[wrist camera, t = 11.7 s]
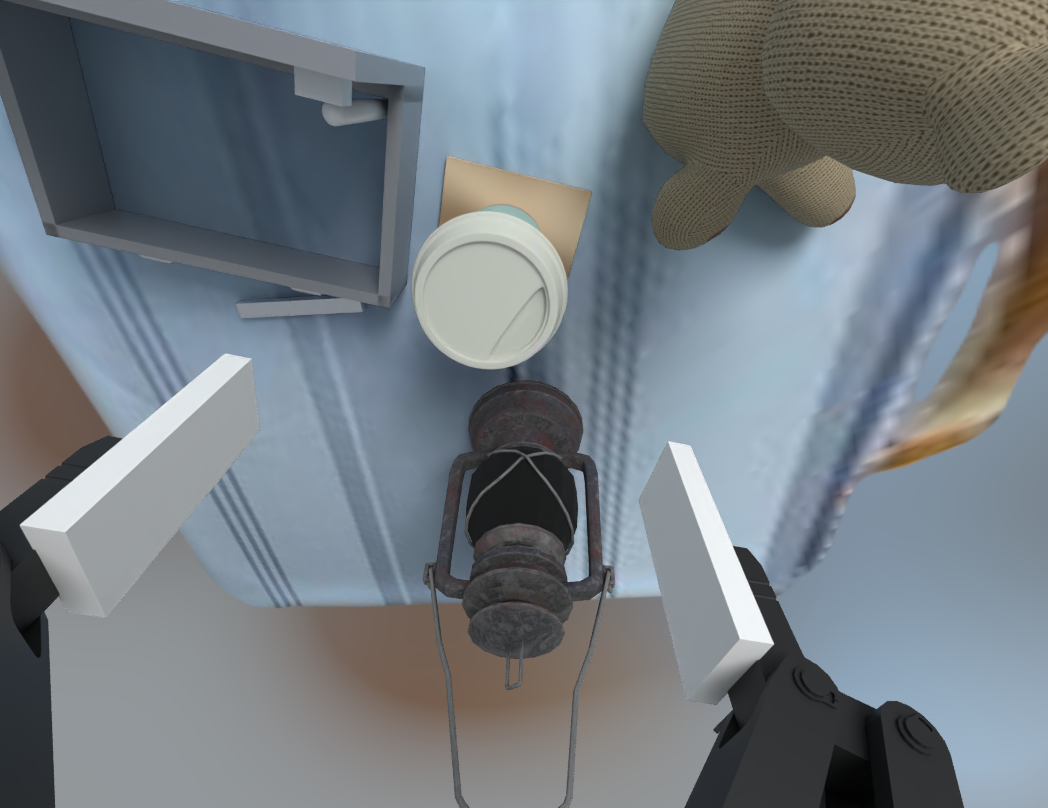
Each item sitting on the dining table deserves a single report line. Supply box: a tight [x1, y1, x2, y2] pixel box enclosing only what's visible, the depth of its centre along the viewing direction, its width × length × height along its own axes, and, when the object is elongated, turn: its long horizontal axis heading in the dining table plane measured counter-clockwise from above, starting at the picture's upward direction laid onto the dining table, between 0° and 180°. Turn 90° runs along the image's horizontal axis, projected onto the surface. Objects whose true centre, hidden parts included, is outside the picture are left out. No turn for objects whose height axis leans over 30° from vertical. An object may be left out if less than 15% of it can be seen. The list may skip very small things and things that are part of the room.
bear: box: [642, 0, 1048, 250], centre depth 18 cm, size 21×16×25 cm
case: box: [0, 0, 425, 308], centre depth 27 cm, size 15×22×13 cm, turn 78°
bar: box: [235, 295, 366, 318], centre depth 38 cm, size 10×1×1 cm, turn 94°
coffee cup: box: [411, 204, 568, 369], centre depth 29 cm, size 8×8×12 cm
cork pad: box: [439, 156, 592, 280], centre depth 35 cm, size 10×10×1 cm
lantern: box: [423, 381, 615, 808], centre depth 31 cm, size 12×11×30 cm
